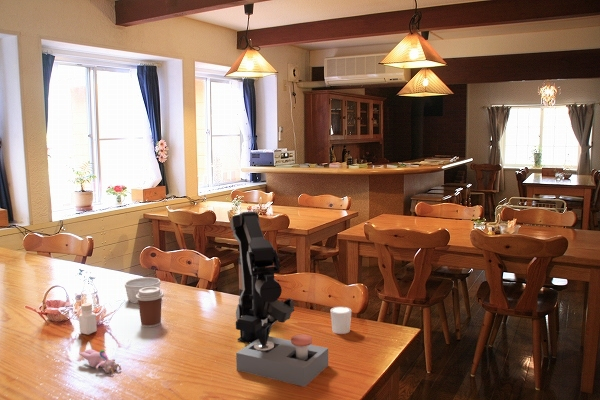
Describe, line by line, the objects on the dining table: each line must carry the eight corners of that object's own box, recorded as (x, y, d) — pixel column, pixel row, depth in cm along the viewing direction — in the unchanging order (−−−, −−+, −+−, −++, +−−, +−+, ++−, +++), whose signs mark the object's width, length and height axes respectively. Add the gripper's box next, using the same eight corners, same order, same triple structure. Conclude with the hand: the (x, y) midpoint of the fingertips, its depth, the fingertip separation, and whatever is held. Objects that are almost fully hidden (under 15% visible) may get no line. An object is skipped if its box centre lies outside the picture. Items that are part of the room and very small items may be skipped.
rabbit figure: (125, 373, 152) (91, 353, 159) (126, 354, 151) (91, 335, 158) (107, 382, 147) (72, 361, 154) (108, 362, 145) (72, 342, 153)
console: (236, 370, 149) (236, 352, 149) (264, 351, 162) (263, 335, 161) (304, 386, 139) (304, 368, 139) (328, 365, 152) (328, 348, 151)
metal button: (250, 365, 152) (250, 346, 152) (261, 357, 157) (260, 339, 156) (267, 369, 150) (267, 350, 149) (278, 361, 154) (277, 343, 154)
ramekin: (146, 291, 222) (145, 275, 221) (168, 297, 214) (167, 280, 213) (118, 300, 211) (117, 283, 210) (140, 306, 203) (139, 288, 202)
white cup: (350, 335, 173) (350, 313, 172) (328, 333, 174) (328, 312, 173) (352, 327, 180) (352, 306, 179) (332, 326, 181) (331, 305, 180)
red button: (287, 360, 146) (287, 340, 145) (297, 352, 151) (297, 333, 150) (306, 364, 143) (305, 344, 143) (315, 356, 148) (315, 336, 147)
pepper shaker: (79, 333, 178) (77, 305, 177) (89, 329, 181) (87, 301, 180) (87, 335, 176) (85, 307, 175) (97, 331, 179) (95, 303, 178)
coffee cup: (144, 331, 179) (142, 295, 177) (132, 323, 186) (130, 289, 184) (169, 324, 185) (168, 289, 183) (157, 317, 192) (155, 284, 190)
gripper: (269, 305, 139) (271, 363, 141) (304, 285, 155) (305, 338, 157) (233, 298, 144) (235, 355, 146) (270, 280, 160) (272, 331, 162)
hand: (263, 344), depth 153 cm, fingers closed, pressing on metal button
